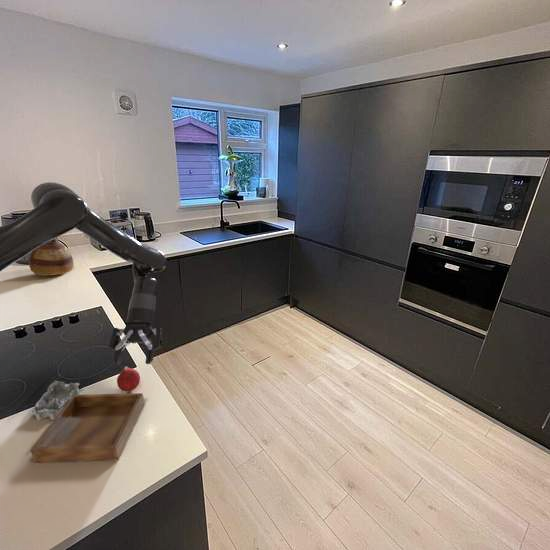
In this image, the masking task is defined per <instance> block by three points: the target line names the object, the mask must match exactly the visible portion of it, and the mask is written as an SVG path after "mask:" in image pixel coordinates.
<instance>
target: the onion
mask: <svg viewBox="0 0 550 550" xmlns="http://www.w3.org/2000/svg"><path fill="white" fill-rule="evenodd" d="M140 382H141V376H140V373H139V371H137V370H136V369H135V368H132V367H129V366H125V367H124V368H123V370H122V371H121V372H120V373H119V374H118V376H117V378H116V384H117V387H118V389H120V390H121V391H123V392H131V391H134V390H136V388H138V386H139V384H140Z"/></svg>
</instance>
